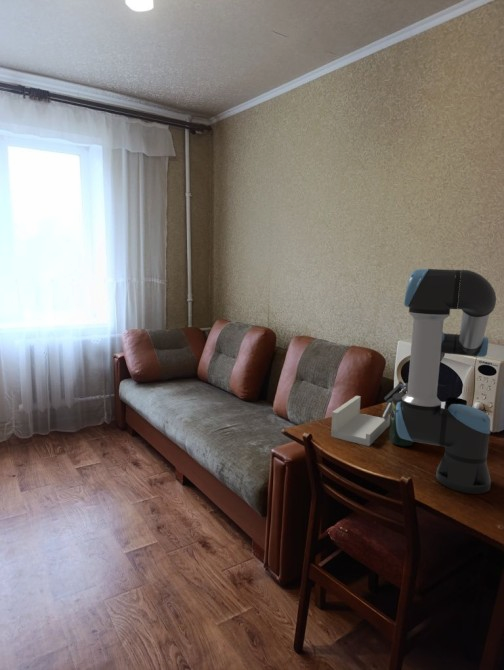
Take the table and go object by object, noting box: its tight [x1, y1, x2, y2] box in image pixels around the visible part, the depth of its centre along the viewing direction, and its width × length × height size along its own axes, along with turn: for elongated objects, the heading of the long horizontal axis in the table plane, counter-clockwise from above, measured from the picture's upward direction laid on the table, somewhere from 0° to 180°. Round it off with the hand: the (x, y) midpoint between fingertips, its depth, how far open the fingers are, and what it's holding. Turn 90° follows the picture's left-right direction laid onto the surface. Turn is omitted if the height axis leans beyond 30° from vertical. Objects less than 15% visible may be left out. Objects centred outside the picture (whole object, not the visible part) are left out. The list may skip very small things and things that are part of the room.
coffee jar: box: [388, 392, 414, 447], centre depth 162 cm, size 10×8×19 cm
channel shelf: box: [330, 395, 391, 447], centre depth 173 cm, size 26×15×10 cm, turn 147°
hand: (398, 422), depth 160 cm, fingers open, 11 cm apart
